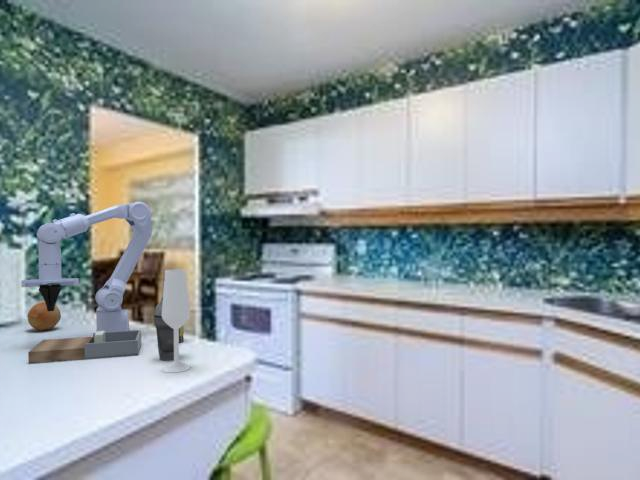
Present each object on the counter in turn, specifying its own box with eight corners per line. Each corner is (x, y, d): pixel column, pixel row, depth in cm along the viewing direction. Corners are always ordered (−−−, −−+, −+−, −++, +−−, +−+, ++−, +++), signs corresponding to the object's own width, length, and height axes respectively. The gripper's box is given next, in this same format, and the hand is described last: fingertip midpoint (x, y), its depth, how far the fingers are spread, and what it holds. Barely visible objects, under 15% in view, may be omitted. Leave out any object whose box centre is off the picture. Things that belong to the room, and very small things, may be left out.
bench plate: (93, 346, 137) (93, 336, 137) (84, 359, 123) (84, 347, 123) (43, 350, 133) (43, 339, 133) (28, 363, 120) (28, 352, 120)
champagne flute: (161, 366, 117) (160, 269, 116) (189, 363, 119) (188, 268, 119) (162, 373, 111) (161, 271, 110) (192, 370, 113) (190, 270, 112)
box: (141, 343, 141) (141, 330, 141) (137, 355, 127) (137, 340, 127) (93, 346, 137) (93, 333, 137) (84, 359, 123) (84, 344, 123)
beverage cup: (174, 362, 120) (173, 284, 119) (148, 361, 121) (147, 284, 121) (187, 355, 127) (187, 281, 126) (163, 354, 128) (162, 281, 128)
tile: (97, 348, 133) (105, 348, 133) (94, 353, 128) (102, 352, 128) (97, 331, 133) (105, 330, 133) (94, 335, 128) (102, 334, 128)
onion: (29, 328, 163) (28, 300, 163) (62, 326, 167) (61, 298, 167) (25, 334, 154) (24, 303, 154) (59, 331, 158) (59, 301, 158)
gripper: (17, 266, 132) (18, 314, 132) (74, 264, 136) (75, 311, 136) (25, 264, 138) (26, 310, 139) (79, 263, 143) (80, 307, 143)
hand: (51, 310), depth 138 cm, fingers closed
